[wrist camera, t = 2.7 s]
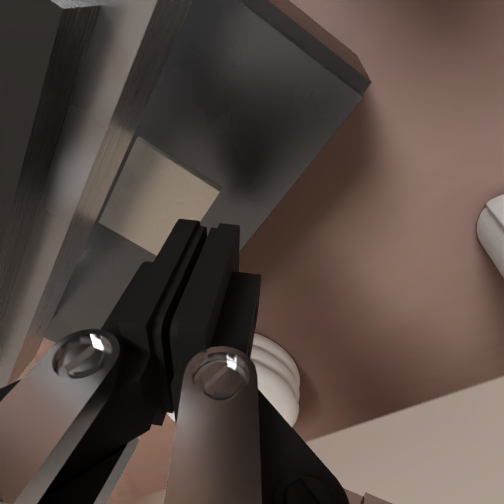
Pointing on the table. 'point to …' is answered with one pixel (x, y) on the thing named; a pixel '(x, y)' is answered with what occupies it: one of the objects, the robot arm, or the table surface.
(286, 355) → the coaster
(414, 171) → the table surface
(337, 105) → the grey lever box
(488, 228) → the photo printer
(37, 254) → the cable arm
